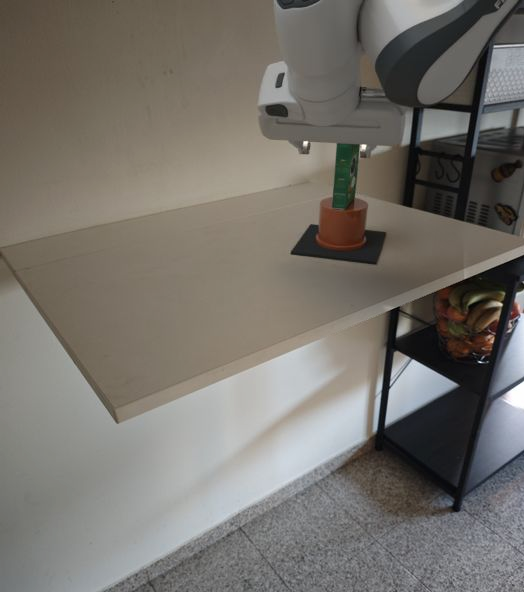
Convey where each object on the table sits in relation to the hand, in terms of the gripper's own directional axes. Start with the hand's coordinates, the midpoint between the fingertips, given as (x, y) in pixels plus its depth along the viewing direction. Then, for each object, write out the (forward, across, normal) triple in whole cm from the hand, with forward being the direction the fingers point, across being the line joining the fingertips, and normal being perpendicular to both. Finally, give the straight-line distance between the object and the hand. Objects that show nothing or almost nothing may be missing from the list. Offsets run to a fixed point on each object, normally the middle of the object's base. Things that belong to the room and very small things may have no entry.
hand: (335, 152), depth 76 cm
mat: (+24, 0, +4) cm, 24 cm away
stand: (+23, 0, +4) cm, 24 cm away
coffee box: (+18, 0, -1) cm, 18 cm away
